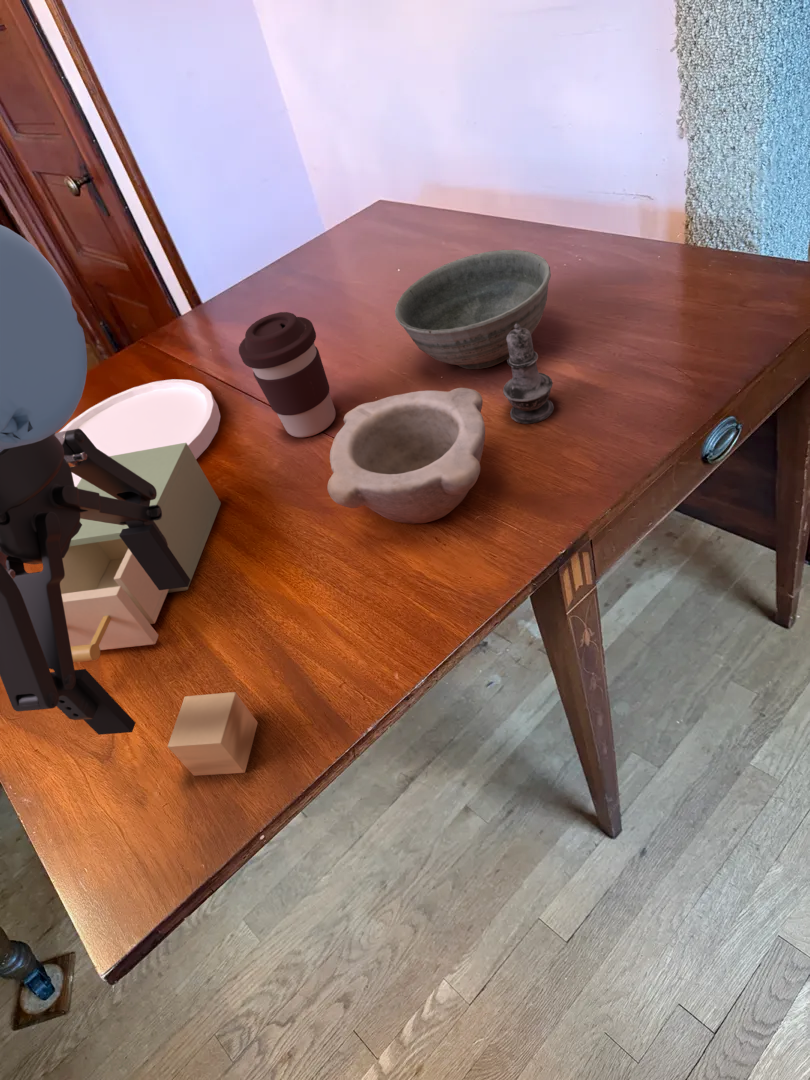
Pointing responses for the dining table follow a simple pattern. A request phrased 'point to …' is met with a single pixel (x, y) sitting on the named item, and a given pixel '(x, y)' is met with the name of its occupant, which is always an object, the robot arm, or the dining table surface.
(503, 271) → the bowl
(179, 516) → the cabinet
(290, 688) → the dining table surface
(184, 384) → the plate
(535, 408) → the grey stone chess piece
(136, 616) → the drawer
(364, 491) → the mortar
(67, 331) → the robot arm
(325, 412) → the coffee cup
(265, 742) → the dining table surface
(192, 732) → the block
